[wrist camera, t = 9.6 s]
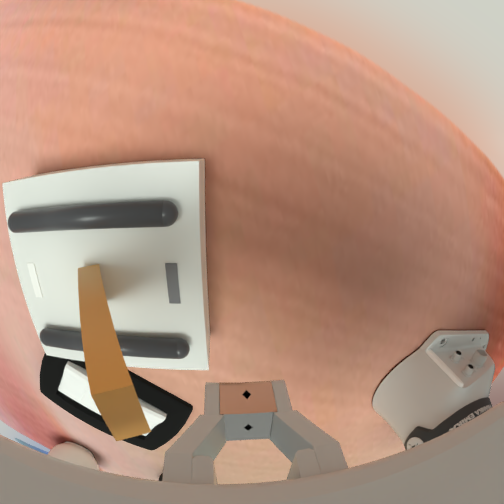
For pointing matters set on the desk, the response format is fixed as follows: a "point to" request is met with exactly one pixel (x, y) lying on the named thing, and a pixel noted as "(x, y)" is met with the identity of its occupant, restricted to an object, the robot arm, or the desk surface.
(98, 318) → the lever
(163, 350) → the box
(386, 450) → the desk surface
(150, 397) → the black picture frame
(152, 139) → the desk surface
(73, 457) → the lidded jar
